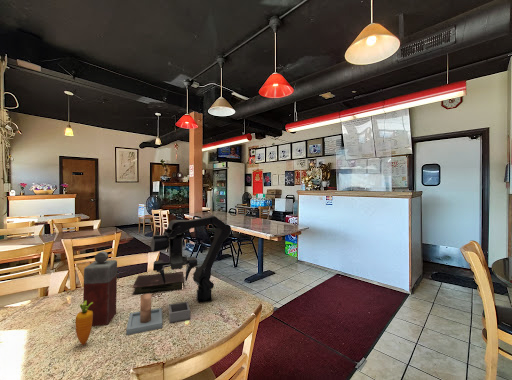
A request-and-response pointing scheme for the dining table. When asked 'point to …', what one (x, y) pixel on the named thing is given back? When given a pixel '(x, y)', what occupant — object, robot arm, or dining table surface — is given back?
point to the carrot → (84, 323)
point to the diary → (158, 283)
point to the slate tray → (137, 326)
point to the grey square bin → (179, 312)
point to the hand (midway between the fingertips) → (175, 282)
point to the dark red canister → (101, 288)
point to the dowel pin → (145, 308)
